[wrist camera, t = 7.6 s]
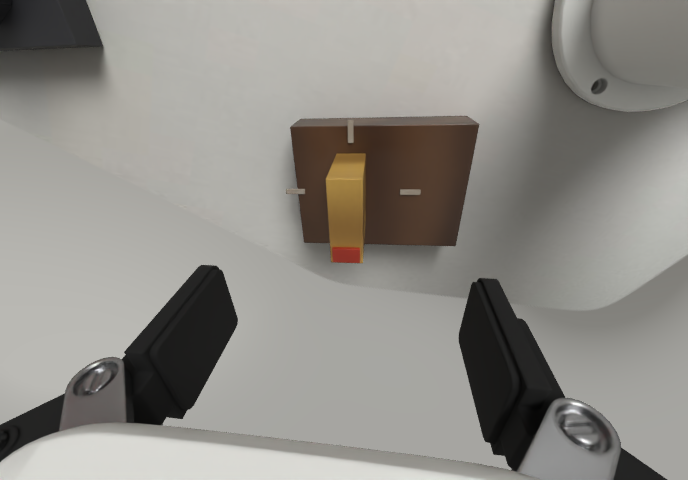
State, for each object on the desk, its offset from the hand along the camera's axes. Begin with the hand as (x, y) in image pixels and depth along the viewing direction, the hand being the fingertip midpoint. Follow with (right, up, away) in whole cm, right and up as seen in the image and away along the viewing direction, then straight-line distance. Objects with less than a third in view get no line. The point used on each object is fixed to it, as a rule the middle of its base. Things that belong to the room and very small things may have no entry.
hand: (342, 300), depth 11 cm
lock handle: (+1, +6, +10) cm, 12 cm away
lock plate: (+3, +7, +12) cm, 15 cm away
